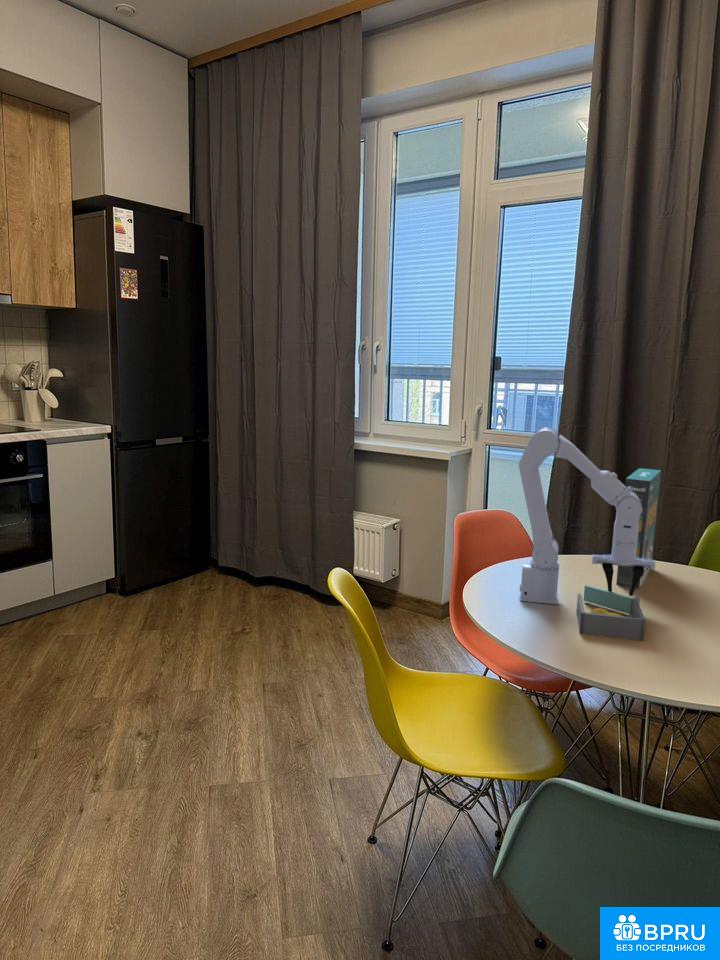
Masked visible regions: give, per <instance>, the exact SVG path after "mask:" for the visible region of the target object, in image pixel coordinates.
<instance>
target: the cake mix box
mask: <svg viewBox="0 0 720 960" xmlns="http://www.w3.org/2000/svg"><path fill="white" fill-rule="evenodd" d="M661 473H662V470H660V469H651V468H637V470H635V471H634V472H632V473H631V474H630V475H629V476H627V477H626V478H625V484H624V485H625V486H626V487H627V488H628V487H630V488H631V489H632V492H634V493H635V494H636V495H637V496H638V498H639V500H640V502H641V505H642V509H643V510H642V513H641V514H640V515H639V522H638V523H639V532H638V542H637V552H636V557H638V558H644V559H650V560H653V551H654V541H655V535H656V534H655V531H656V524H657V523H656V522H657V513H658V503H659V496H660V495H659V494H660V485H661V476H662V474H661ZM650 571H651V569H650V568H644V574H643V576H642V577H641V578H640V580H639V581H638V583H637V585H636V587H635V589H640V588H641V586H642V584H643V582H644V581H645V580H646V578H647V576H648V575H649V573H650ZM630 579H631V567H630V566H619V565H617V572H616V582H615V583H616V585H617V586H622V587H626V588H629V585H630Z"/></svg>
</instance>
